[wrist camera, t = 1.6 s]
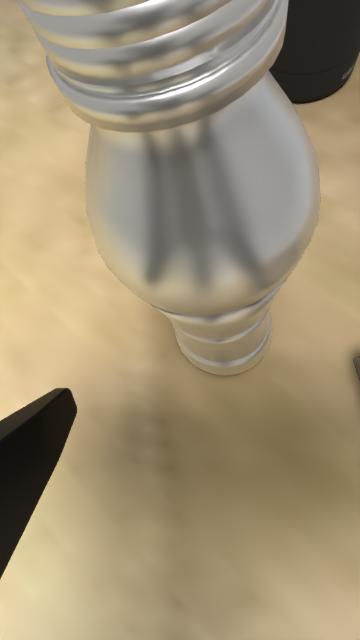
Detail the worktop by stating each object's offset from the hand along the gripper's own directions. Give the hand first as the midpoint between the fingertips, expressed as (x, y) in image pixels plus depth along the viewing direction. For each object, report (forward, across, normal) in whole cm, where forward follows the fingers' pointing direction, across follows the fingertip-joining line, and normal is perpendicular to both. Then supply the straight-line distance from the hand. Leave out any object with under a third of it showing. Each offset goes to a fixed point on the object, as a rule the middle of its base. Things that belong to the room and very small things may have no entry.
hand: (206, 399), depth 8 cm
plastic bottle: (+13, 0, +5) cm, 14 cm away
